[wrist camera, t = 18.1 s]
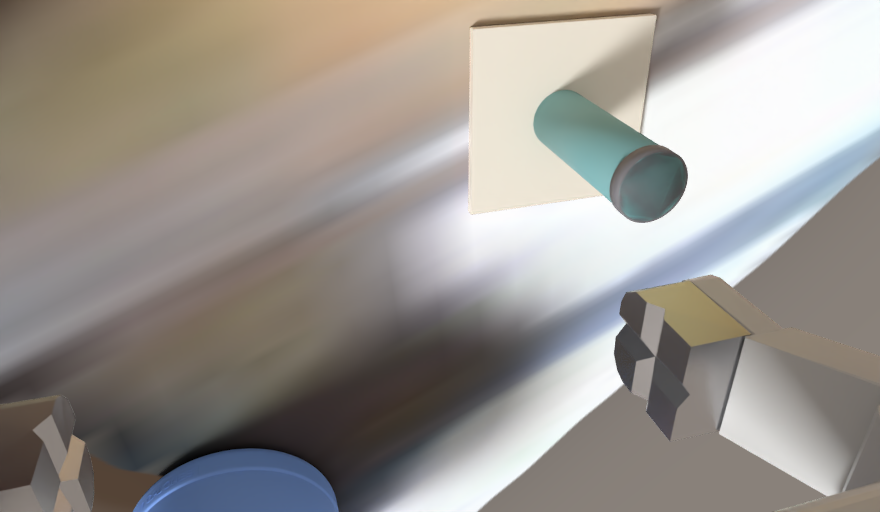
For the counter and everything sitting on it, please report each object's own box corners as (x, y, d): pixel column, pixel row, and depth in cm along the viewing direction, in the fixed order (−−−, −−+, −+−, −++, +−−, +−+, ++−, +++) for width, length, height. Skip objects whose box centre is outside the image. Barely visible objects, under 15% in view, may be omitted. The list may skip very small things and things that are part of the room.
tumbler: (520, 134, 43) (602, 207, 34) (553, 77, 42) (647, 138, 33) (567, 157, 45) (657, 232, 36) (600, 103, 44) (701, 167, 35)
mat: (468, 210, 46) (470, 214, 45) (470, 27, 40) (473, 29, 39) (626, 187, 49) (631, 191, 48) (651, 13, 43) (656, 15, 42)
